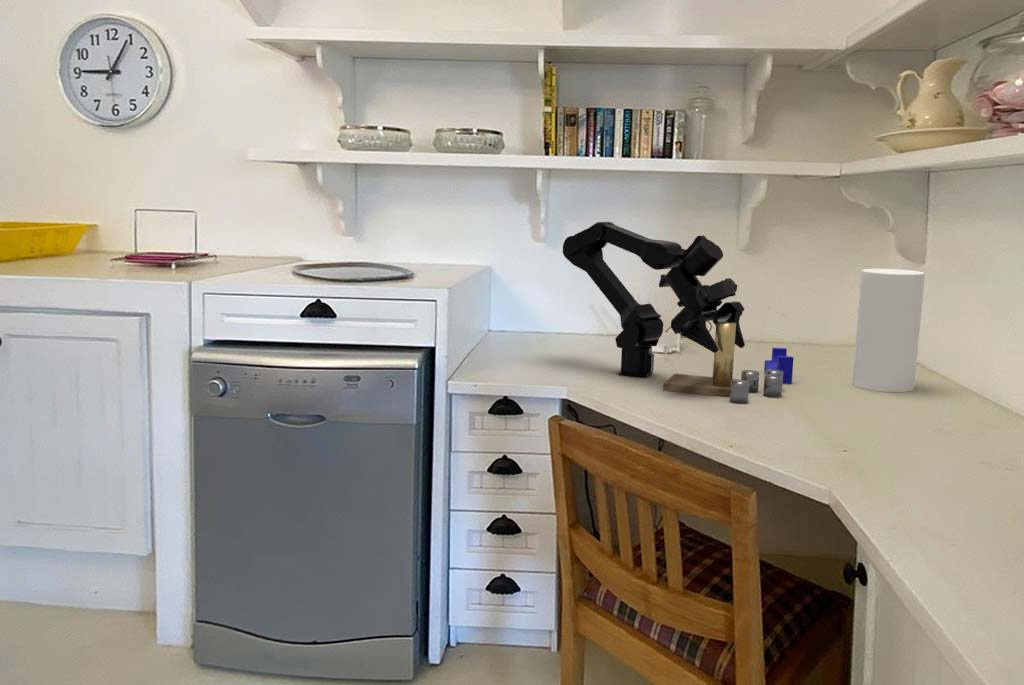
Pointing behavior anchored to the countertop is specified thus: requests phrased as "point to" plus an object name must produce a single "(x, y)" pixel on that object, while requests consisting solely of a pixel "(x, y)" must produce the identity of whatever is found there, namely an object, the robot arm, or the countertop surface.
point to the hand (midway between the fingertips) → (730, 349)
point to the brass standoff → (724, 354)
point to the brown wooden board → (695, 385)
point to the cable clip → (781, 364)
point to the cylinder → (888, 329)
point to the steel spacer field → (756, 385)
